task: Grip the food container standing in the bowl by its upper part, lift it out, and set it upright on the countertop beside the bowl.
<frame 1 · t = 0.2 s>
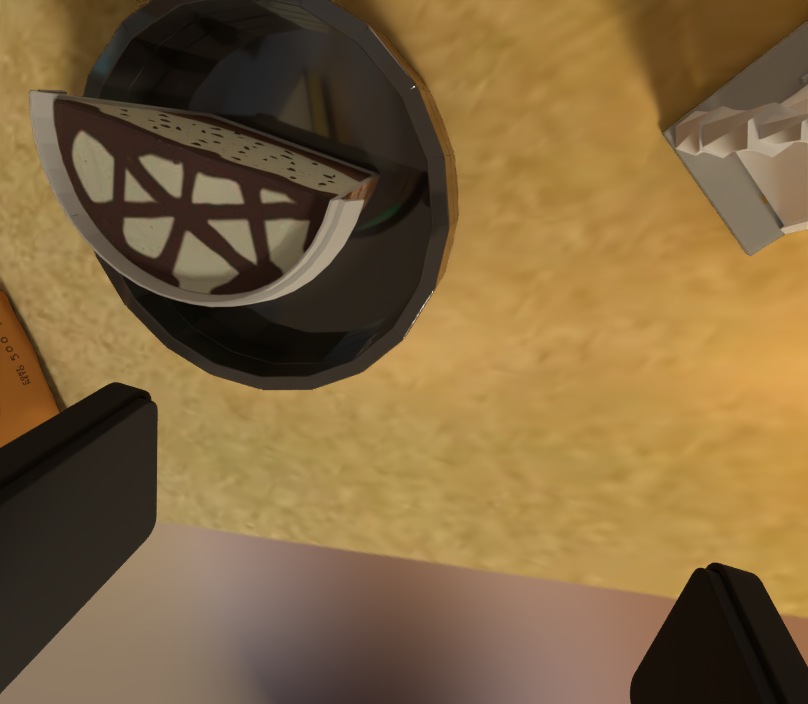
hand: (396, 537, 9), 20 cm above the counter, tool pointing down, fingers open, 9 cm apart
bowl: (285, 201, 28), on the counter
coffee package: (10, 367, 37), on the counter
food container: (284, 202, 28), resting on bowl
skyscraper: (804, 139, 23), on the counter
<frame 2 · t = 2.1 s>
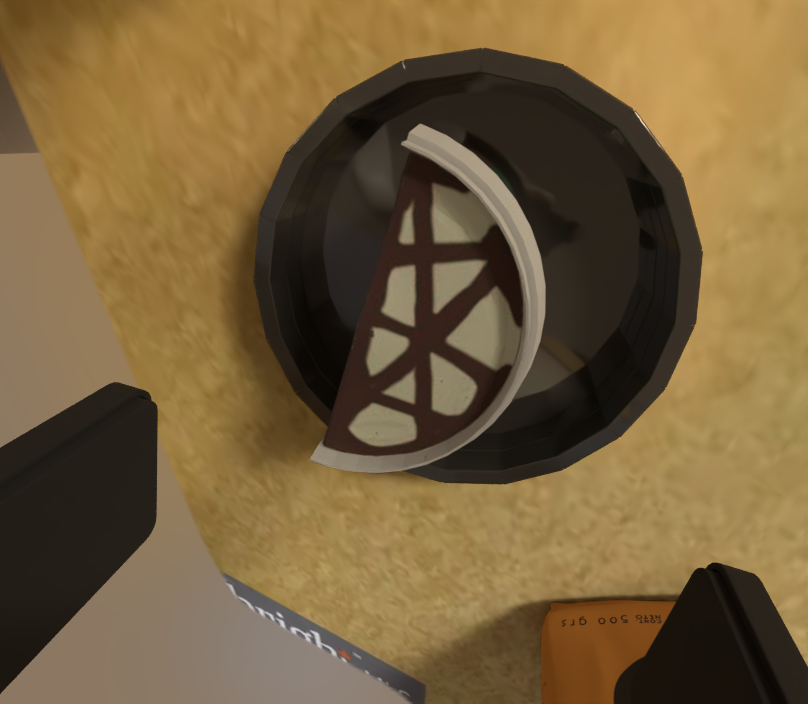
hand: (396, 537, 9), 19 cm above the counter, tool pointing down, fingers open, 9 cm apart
bowl: (467, 278, 26), on the counter
coffee package: (643, 635, 32), on the counter
food container: (467, 279, 26), resting on bowl
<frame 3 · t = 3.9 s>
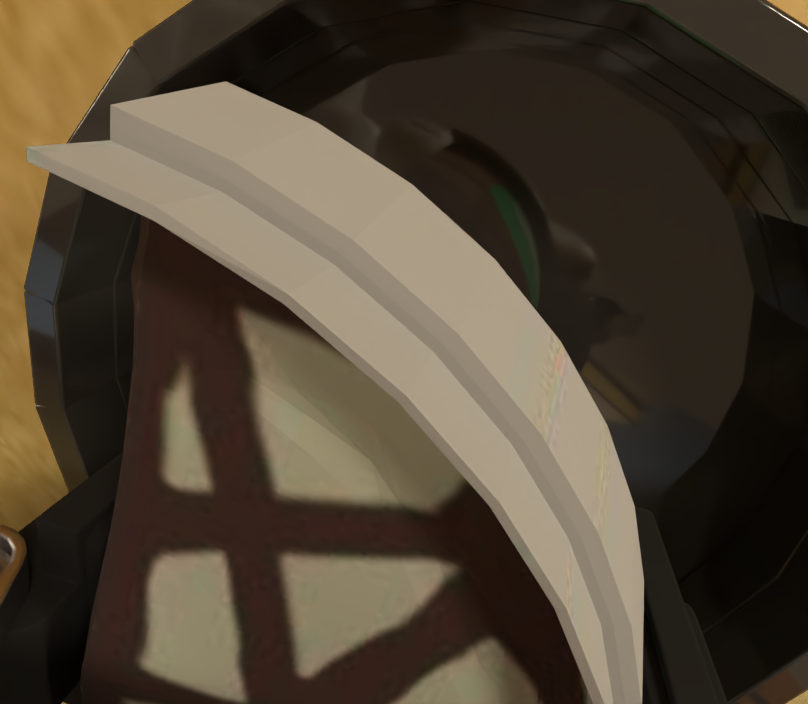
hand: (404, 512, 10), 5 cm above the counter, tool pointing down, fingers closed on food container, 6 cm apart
bowl: (446, 386, 15), on the counter
food container: (445, 390, 14), resting on bowl, touching gripper
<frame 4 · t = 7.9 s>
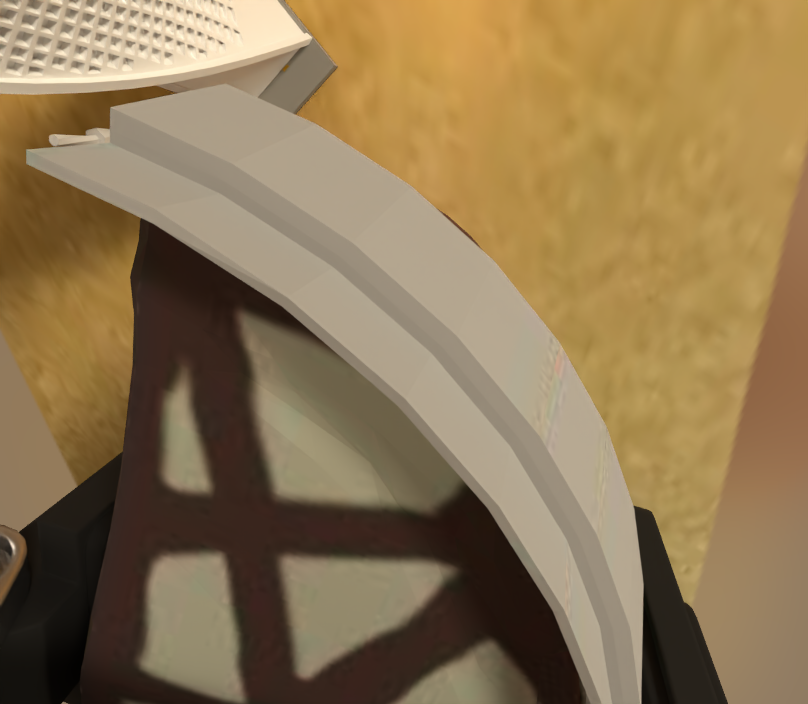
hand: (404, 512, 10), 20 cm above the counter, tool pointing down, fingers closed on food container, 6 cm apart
food container: (445, 390, 14), point 15 cm above the counter, touching gripper
skyscraper: (242, 42, 26), on the counter
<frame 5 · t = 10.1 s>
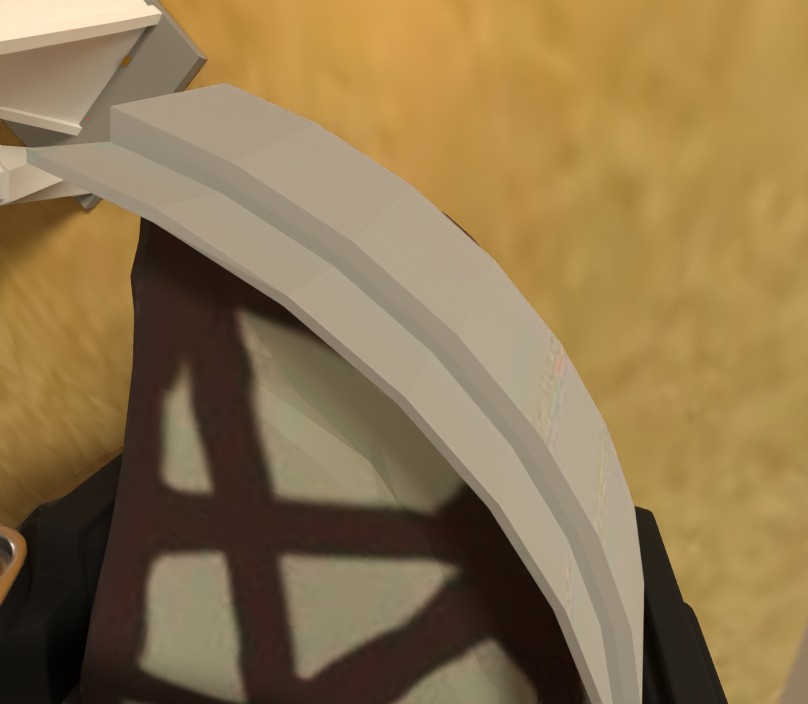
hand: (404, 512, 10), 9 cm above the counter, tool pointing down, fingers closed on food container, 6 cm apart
bowl: (239, 601, 25), on the counter
food container: (446, 390, 14), point 4 cm above the counter, touching gripper
skyscraper: (66, 21, 17), on the counter
when the fingers open (5 cm above the counter, at t = 11.7 s): food container stays where it is, on the counter.
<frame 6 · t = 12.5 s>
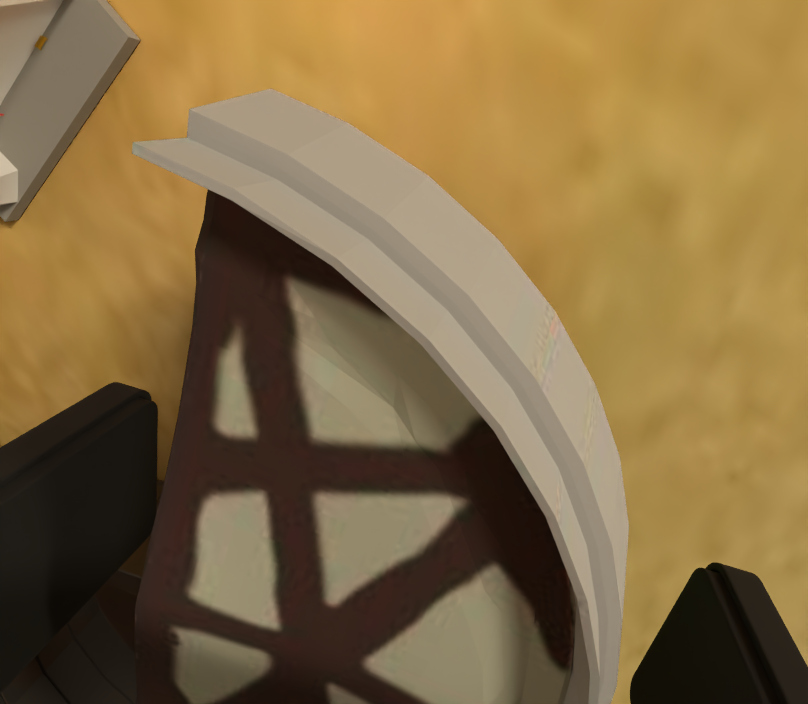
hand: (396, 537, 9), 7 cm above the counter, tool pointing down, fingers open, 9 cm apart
bowl: (203, 664, 22), on the counter
food container: (452, 376, 15), on the counter
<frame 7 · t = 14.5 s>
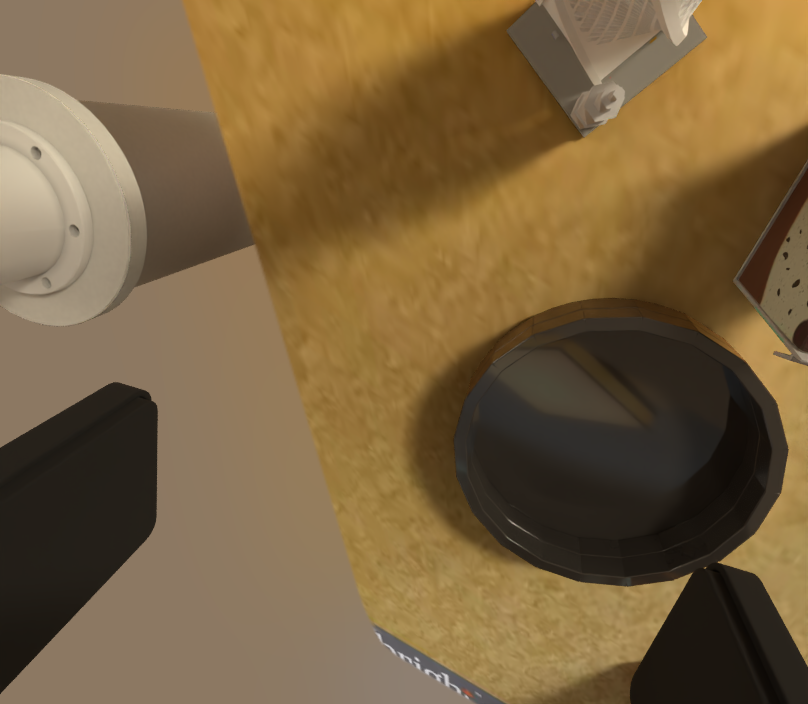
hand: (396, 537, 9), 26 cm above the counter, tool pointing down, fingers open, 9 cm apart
bowl: (600, 431, 35), on the counter
skyscraper: (603, 15, 27), on the counter
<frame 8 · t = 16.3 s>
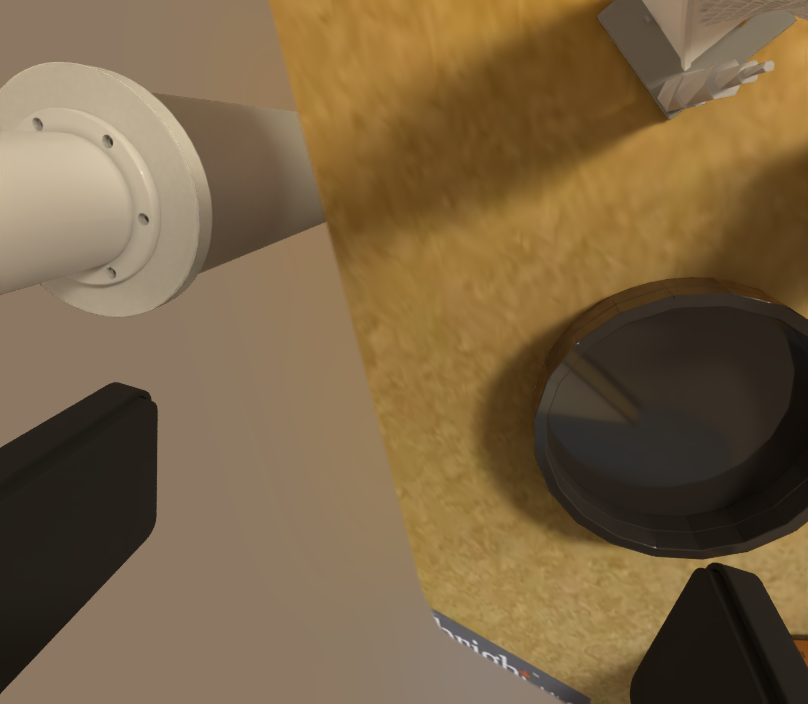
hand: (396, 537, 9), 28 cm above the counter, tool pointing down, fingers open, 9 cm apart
bowl: (672, 409, 36), on the counter
skyscraper: (693, 0, 28), on the counter
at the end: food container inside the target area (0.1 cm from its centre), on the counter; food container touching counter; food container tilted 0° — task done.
